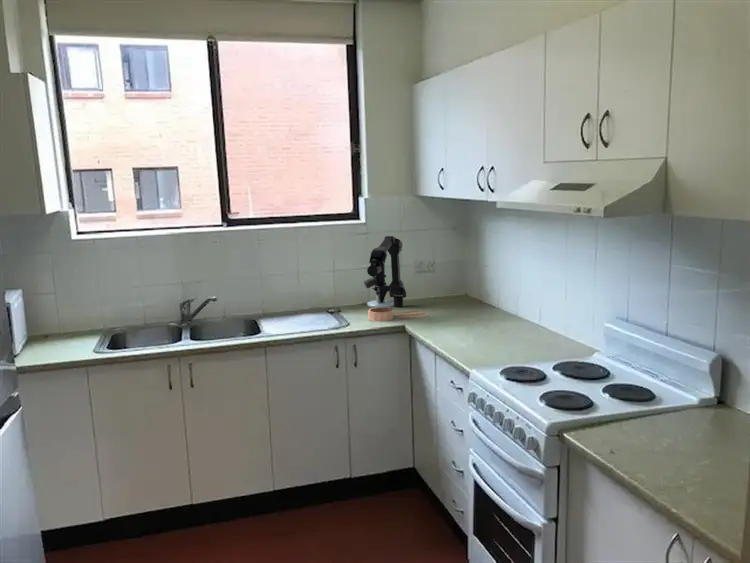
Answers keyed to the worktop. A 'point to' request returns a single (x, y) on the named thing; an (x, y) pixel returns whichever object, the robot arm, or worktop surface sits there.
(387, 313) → the bowl
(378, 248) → the robot arm
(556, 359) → the worktop surface
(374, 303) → the lid
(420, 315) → the board
